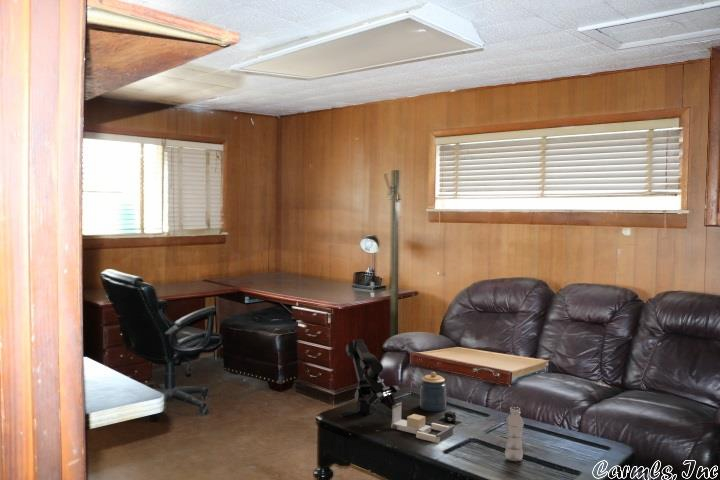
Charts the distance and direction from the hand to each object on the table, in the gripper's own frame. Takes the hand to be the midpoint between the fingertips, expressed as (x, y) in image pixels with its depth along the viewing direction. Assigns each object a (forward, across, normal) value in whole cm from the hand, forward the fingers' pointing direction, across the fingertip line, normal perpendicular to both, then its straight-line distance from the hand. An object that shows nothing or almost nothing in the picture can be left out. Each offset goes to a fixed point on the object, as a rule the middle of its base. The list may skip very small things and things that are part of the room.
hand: (395, 410), depth 266 cm
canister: (+6, -34, -4) cm, 34 cm away
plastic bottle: (+45, +4, +36) cm, 57 cm away
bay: (+19, -1, +10) cm, 21 cm away
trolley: (+11, -1, +1) cm, 11 cm away
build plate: (+17, -21, +7) cm, 28 cm away
